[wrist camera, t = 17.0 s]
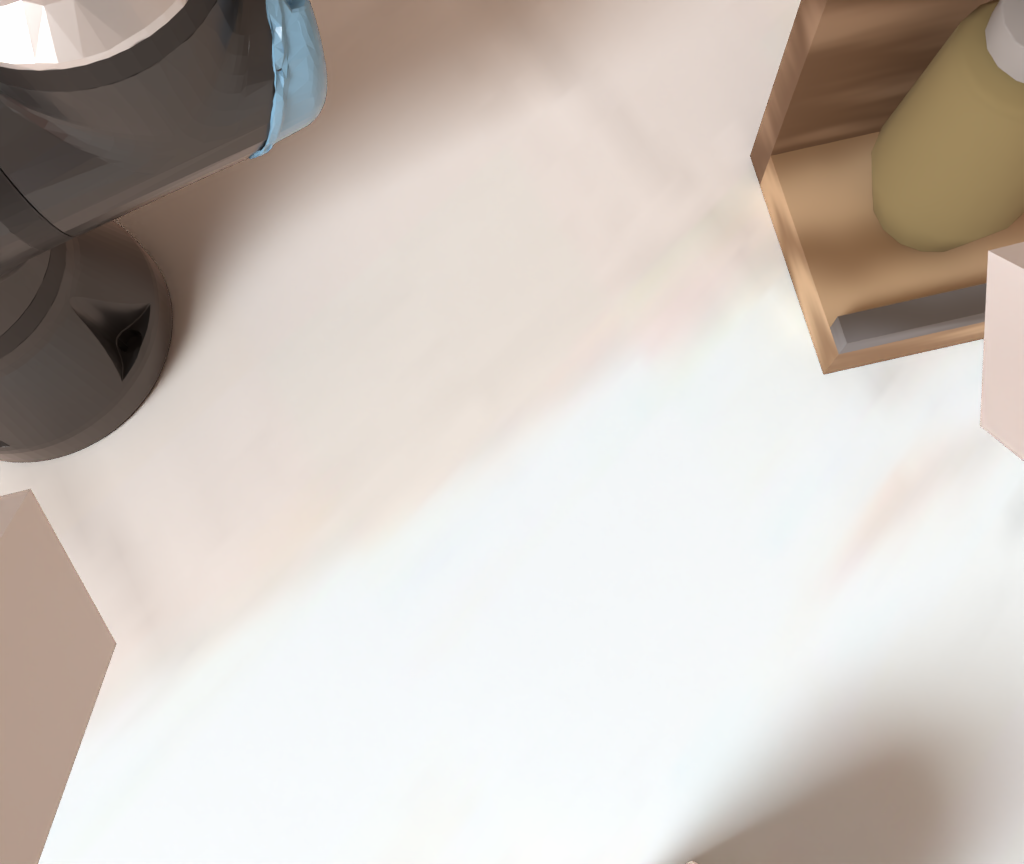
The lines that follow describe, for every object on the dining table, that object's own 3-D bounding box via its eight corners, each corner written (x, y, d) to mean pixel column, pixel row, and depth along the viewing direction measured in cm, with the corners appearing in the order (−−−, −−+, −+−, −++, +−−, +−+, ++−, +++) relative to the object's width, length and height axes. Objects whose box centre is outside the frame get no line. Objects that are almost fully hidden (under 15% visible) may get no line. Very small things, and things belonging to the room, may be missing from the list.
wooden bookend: (750, 155, 55) (901, -305, 30) (982, 104, 55) (1325, -399, 30) (823, 374, 51) (1068, 52, 26) (1074, 318, 51) (1559, -57, 26)
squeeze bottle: (912, 300, 48) (1104, 74, 31) (818, 184, 51) (949, -86, 33) (1037, 225, 49) (1291, -36, 32) (939, 114, 51) (1127, -185, 34)
